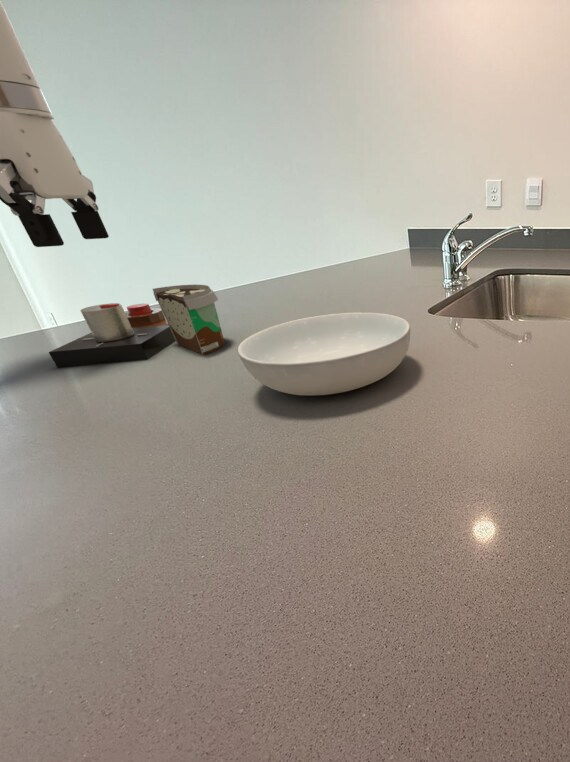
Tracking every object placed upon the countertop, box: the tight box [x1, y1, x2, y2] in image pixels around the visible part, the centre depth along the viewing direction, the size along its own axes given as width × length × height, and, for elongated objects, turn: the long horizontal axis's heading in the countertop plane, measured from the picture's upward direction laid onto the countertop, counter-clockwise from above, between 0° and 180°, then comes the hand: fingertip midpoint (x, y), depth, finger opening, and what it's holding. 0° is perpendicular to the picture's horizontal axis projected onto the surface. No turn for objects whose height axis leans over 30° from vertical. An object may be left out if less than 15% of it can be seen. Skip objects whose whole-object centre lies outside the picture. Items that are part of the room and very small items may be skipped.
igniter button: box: [126, 303, 152, 316], centre depth 76 cm, size 3×3×2 cm
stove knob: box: [80, 302, 134, 342], centre depth 65 cm, size 5×5×5 cm
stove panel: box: [48, 325, 176, 369], centre depth 67 cm, size 12×10×3 cm
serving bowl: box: [237, 312, 411, 396], centre depth 55 cm, size 21×21×7 cm
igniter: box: [125, 307, 168, 328], centre depth 77 cm, size 10×8×4 cm
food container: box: [152, 284, 226, 356], centre depth 68 cm, size 12×6×10 cm, turn 58°
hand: (75, 242), depth 60 cm, fingers open, 9 cm apart
